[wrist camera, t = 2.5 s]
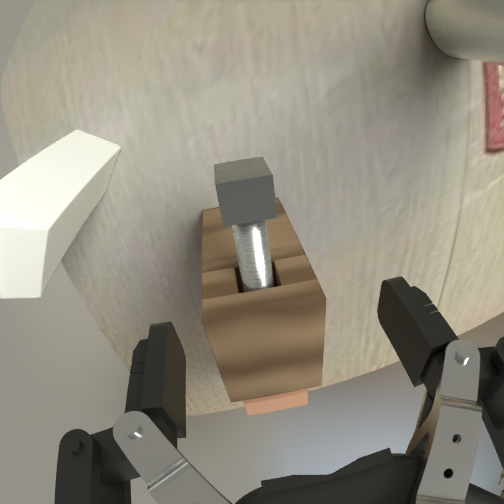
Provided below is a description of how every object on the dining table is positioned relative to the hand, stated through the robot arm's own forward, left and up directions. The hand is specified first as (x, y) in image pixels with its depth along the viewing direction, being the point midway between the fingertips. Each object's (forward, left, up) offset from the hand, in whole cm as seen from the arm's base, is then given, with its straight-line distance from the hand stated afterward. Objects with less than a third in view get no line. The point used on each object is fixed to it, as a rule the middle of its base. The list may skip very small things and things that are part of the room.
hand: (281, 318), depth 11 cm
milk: (-2, -16, -26) cm, 31 cm away
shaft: (+13, 0, -14) cm, 19 cm away
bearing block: (+13, 0, -26) cm, 29 cm away
